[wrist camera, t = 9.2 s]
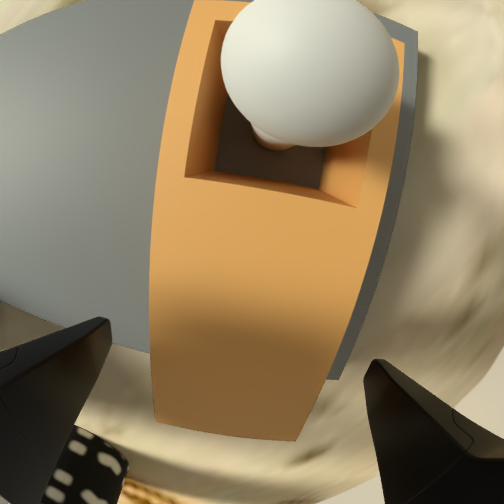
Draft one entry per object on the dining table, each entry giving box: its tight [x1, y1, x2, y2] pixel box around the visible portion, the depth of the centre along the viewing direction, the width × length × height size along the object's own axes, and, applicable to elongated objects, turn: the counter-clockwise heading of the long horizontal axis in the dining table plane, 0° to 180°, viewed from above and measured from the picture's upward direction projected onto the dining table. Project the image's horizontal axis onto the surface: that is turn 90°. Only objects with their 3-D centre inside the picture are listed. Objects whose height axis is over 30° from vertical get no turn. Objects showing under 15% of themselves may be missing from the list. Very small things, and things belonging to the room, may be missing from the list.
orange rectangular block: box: [149, 0, 405, 441], centre depth 8 cm, size 12×5×4 cm, turn 170°
